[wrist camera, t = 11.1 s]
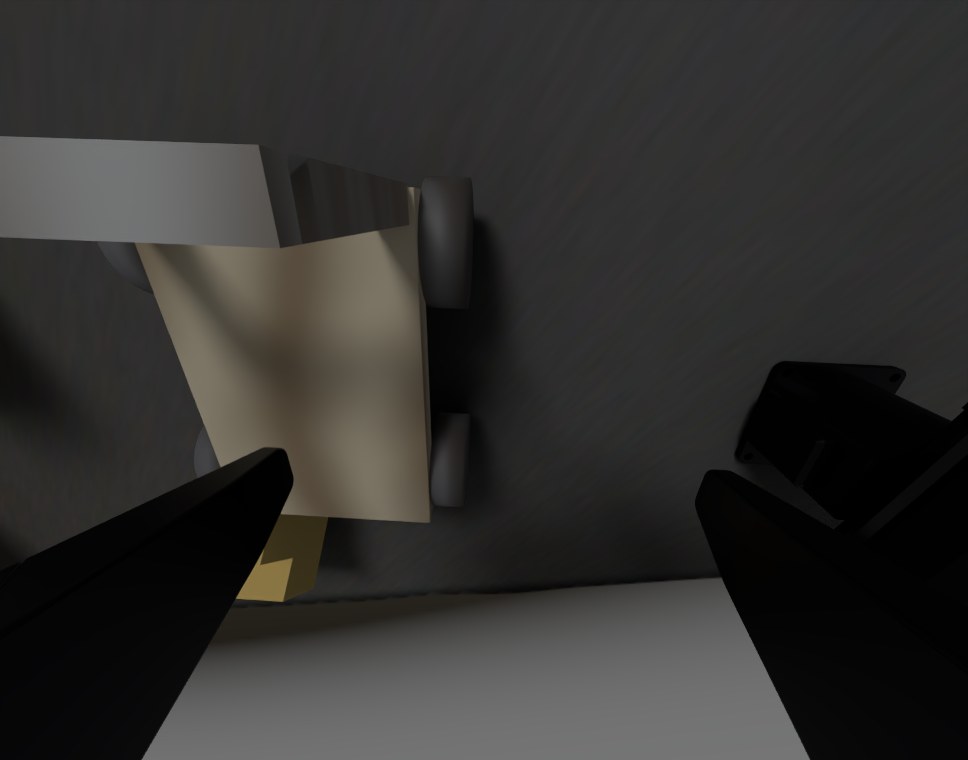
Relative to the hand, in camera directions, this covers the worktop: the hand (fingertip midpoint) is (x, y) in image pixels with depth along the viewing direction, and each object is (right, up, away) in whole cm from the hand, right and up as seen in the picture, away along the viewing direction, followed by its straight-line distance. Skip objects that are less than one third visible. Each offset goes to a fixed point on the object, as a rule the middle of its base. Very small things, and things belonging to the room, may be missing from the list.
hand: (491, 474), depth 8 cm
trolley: (-7, +4, +12) cm, 14 cm away
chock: (-13, -6, +14) cm, 20 cm away
